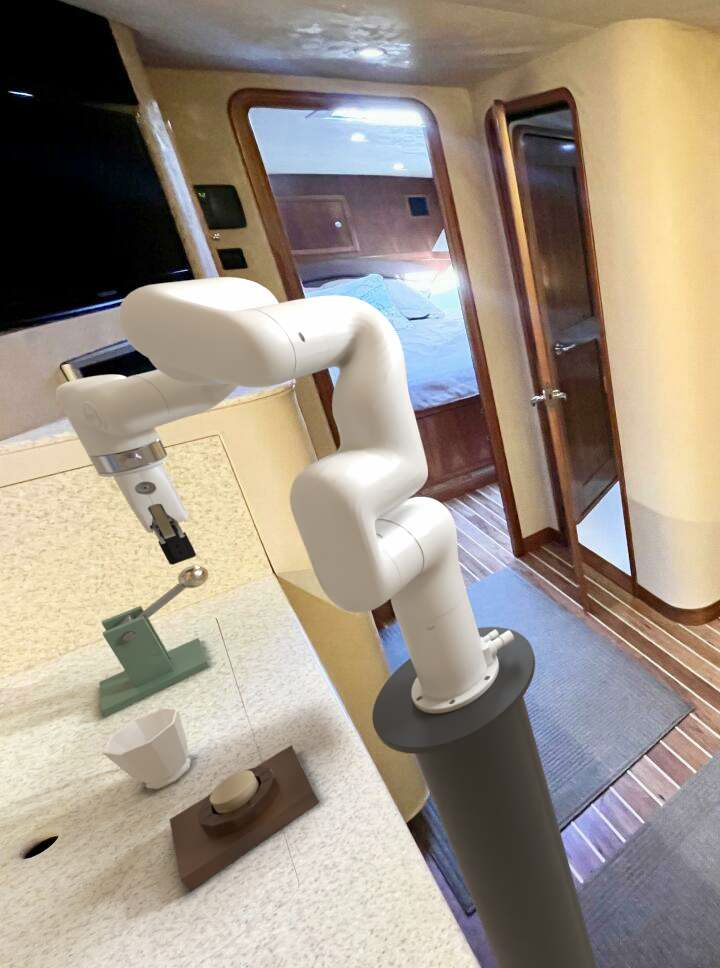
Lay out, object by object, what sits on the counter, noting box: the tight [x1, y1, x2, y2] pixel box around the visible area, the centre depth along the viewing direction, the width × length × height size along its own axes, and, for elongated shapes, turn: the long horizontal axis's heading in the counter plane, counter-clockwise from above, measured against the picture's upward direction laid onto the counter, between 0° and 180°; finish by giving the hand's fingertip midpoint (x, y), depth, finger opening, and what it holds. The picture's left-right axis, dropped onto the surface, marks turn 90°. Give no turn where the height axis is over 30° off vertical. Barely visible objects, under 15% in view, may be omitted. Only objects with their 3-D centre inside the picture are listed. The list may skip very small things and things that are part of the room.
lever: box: [113, 565, 209, 628], centre depth 86 cm, size 13×4×4 cm, turn 140°
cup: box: [102, 707, 192, 790], centre depth 70 cm, size 7×10×8 cm
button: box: [210, 769, 259, 814], centre depth 63 cm, size 4×4×2 cm
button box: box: [169, 744, 320, 893], centre depth 64 cm, size 12×10×4 cm
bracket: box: [98, 605, 210, 717], centre depth 85 cm, size 12×9×12 cm
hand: (183, 558), depth 87 cm, fingers closed
